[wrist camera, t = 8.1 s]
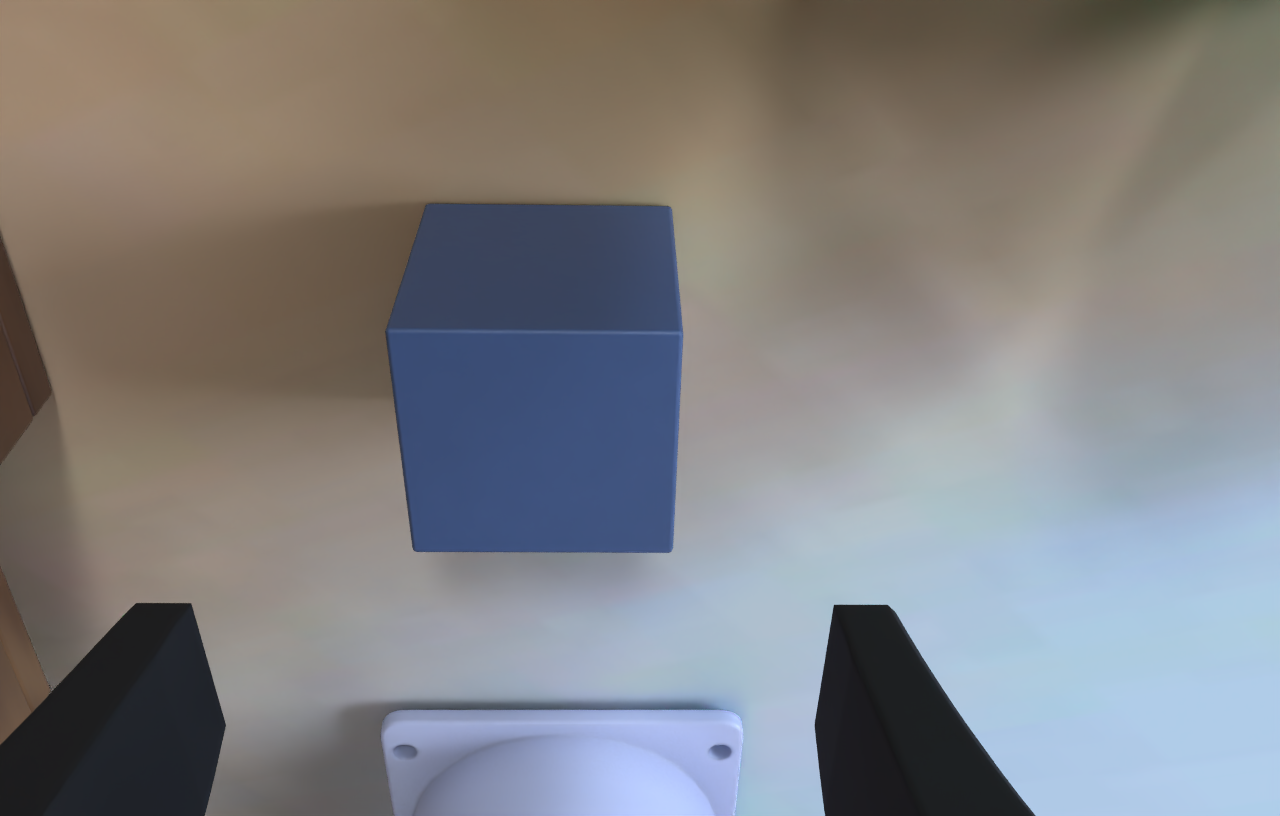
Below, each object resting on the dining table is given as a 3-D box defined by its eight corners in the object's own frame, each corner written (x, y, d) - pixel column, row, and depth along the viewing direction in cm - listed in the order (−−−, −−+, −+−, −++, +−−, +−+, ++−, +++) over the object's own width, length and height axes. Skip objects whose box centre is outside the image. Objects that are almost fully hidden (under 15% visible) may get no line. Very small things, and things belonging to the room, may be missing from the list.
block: (664, 406, 21) (673, 554, 18) (444, 404, 21) (412, 553, 18) (671, 204, 19) (683, 331, 15) (424, 201, 19) (383, 329, 15)
